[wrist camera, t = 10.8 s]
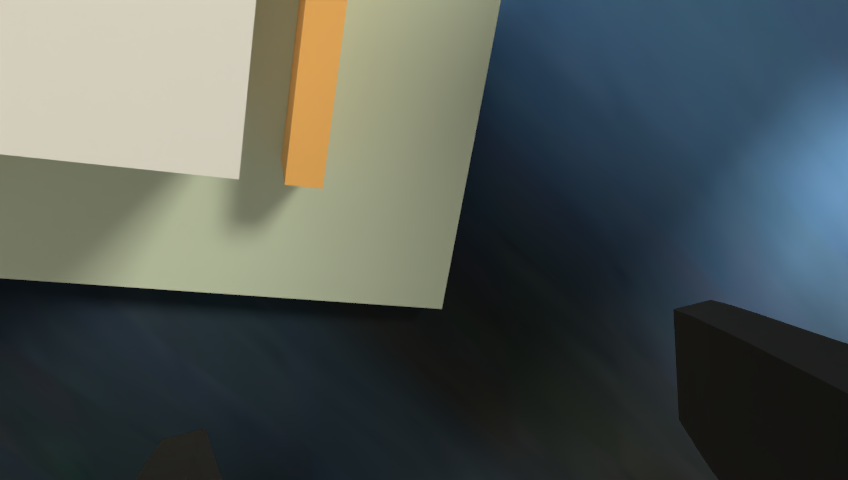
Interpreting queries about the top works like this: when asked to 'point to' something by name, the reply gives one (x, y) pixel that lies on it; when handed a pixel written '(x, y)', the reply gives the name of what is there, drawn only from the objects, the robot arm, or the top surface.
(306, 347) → the top surface
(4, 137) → the chute block
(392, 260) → the deck
